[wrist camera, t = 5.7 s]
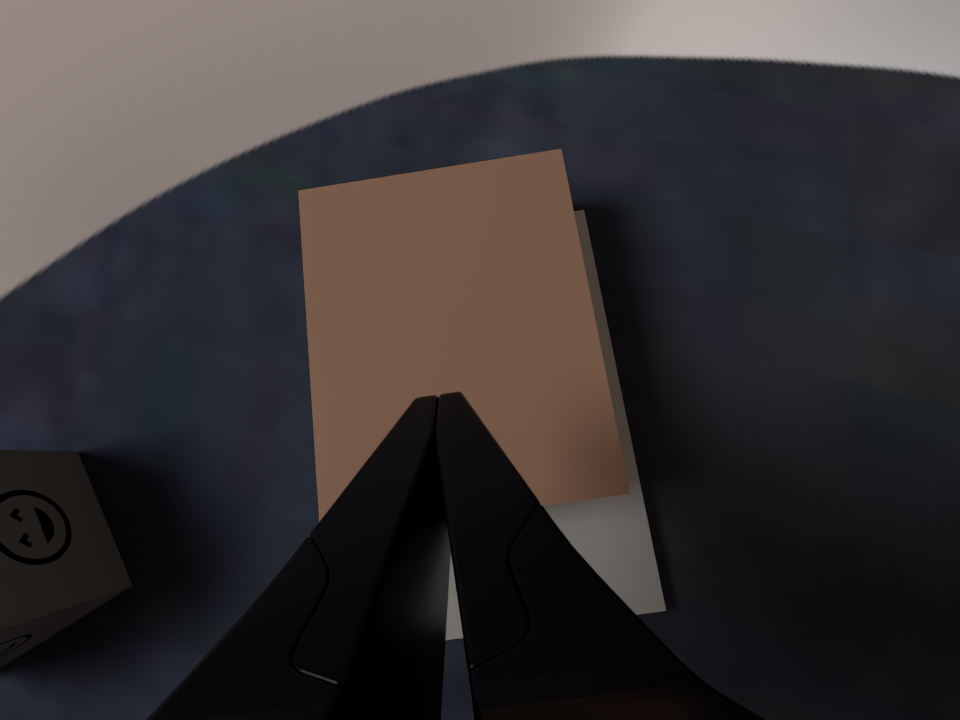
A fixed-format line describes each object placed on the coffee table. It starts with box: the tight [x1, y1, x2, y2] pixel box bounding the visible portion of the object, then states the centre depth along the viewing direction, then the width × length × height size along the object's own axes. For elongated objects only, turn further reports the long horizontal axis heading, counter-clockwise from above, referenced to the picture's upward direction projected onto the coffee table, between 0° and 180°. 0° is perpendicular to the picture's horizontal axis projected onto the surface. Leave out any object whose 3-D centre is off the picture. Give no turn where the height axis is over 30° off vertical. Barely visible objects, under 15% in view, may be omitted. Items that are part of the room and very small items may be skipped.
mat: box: [446, 210, 666, 640], centre depth 16 cm, size 13×10×1 cm
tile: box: [298, 149, 630, 522], centre depth 14 cm, size 3×8×10 cm
